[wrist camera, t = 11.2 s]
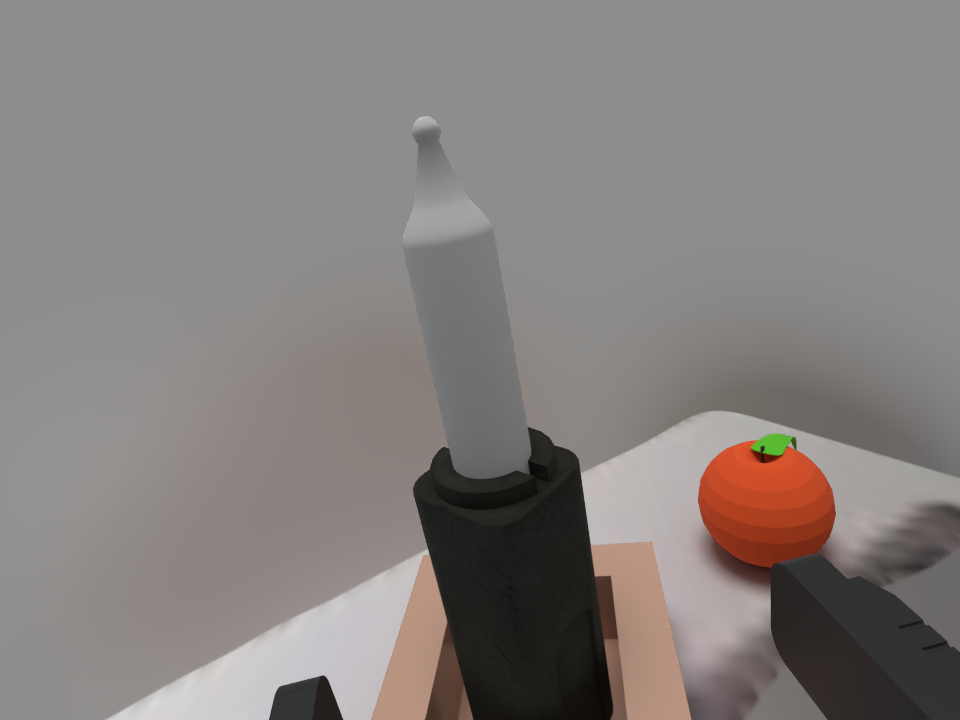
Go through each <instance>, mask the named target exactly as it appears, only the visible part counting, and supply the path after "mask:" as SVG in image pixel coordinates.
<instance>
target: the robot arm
mask: <svg viewBox="0 0 960 720" xmlns="http://www.w3.org/2000/svg"><path fill="white" fill-rule="evenodd" d="M771 631H772V635H773V639H774V642H775V645H776V647H777V650H778V652H779V654H780V656H781V658H782V659H783V661H784V663H785V664H786V666H787V667H788V668H789V670H790V671H791V672H792V674H793V675H794V676H795V677H796V679H797V680H798V681H799V683H800V684H801V685H802V687H803V688H804V689H805V690H806V692H807V693H808V694H809V696H810V697H811V698H812V700H813V701H814V702H815V704H816V705H817V706H818V708H819V709H820V710H821V712H822V713H823V714H824V715H825V717H826V718H827V719H828V720H960V652H959V651H958V650H957V649H955V648H954V647H952V648H951V647H950V646H949V645H948V643H947V641H946V640H945V639H944V638H943V637H942V636H941V635H939V634H938V633H937V632H936V631H935V630H934V629H933V628H932V627H930V626H929V625H927V626H926V625H925V624H924V622H923V620H922V619H921V618H920V617H919V616H918V615H917V614H915V612H913V611H912V610H911V609H910V608H909V607H908V606H907V605H905V604H904V603H903V602H902V601H901V600H900V599H899V598H897V597H896V596H895V595H894V594H892V593H890V592H888V591H886V590H884V589H882V588H880V587H879V586H877V585H875V584H873V583H871V582H869V581H867V580H865V579H863V578H861V577H855V578H851V579H847V578H846V577H845V576H844V575H843V574H842V573H840V572H839V571H838V570H837V569H836V568H835V567H834V566H833V565H832V564H831V563H830V562H829V561H828V560H826V559H825V558H824V557H823V556H821V555H819V554H810V555H806V556H802V557H798V558H794V559H790V560H786V561H783V562H779V563H775V564H773V566H772V568H771ZM269 720H343V718H342V715H341V713H340V710H339V707H338V705H337V702H336V699H335V697H334V694H333V692H332V689H331V686H330V684H329V681H328V679H327V678H326V677H325V676H319V677H315V678H311V679H307V680H304V681H300V682H296V683H292V684H288V685H284V686H280V687H279V688H278V689H277V691H276V694H275V697H274V701H273V705H272V709H271V714H270V718H269Z"/></svg>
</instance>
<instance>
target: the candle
mask: <svg viewBox="0 0 960 720" xmlns="http://www.w3.org/2000/svg"><path fill="white" fill-rule="evenodd" d="M440 132H441V129H440V126H439V124H438V123H437V122H436V121H435V120H433V119H432V118H431V117H428V116H425V117H421V118H419V119H418V120H417V121H416V122H415V124H414V126H413V129H412V135H413V137H414V139H415V141H416V142H417V143H418V159H417V173H416V174H417V175H416V190H415V204H414V208H413V211H412V213H411V216H410V219H409V221H408V224H407V226H406V229H405V233H404V236H403V239H402V247H403V251H404V256H405V259H406V264H407V268H408V272H409V277H410V282H411V286H412V290H413V294H414V299H415V303H416V308H417V312H418V316H419V321H420V324H421V329H422V334H423V338H424V342H425V347H426V351H427V355H428V359H429V363H430V368H431V372H432V376H433V381H434V385H435V389H436V394H437V398H438V403H439V407H440V411H441V416H442V420H443V424H444V428H445V433H446V437H447V442H448V446H449V449H448V448H445V447H443V448H441V449H440V450H439V451H438V453H437V454H436V455H435V457H434V458H433V460H432V463H431V467H430V470H428V471H427V472H426V473H424V474H423V475H422V476H421V477H419V479H418V480H417V481H416V482H415V485H414V487H413V493H414V497H415V501H416V505H417V508H418V513H419V516H420V520H421V524H422V527H423V531H424V535H425V539H426V543H427V547H428V550H429V554H430V558H431V562H432V565H433V569H434V573H435V577H436V581H437V584H438V588H439V592H440V596H441V599H442V603H443V607H444V611H445V615H446V618H447V622H448V626H449V630H450V633H451V637H452V641H453V645H454V649H455V652H456V656H457V660H458V664H459V667H460V671H461V675H462V679H463V683H464V686H465V690H466V694H467V698H468V701H469V705H470V709H471V713H472V717H473V720H610V719H611V717H612V714H613V701H612V694H611V687H610V680H609V672H608V665H607V658H606V651H605V644H604V637H603V630H602V623H601V615H600V608H599V601H598V594H597V587H596V580H595V573H594V566H593V558H592V551H591V544H590V537H589V530H588V523H587V516H586V509H585V501H584V494H583V487H582V480H581V473H580V466H579V460H578V458H577V456H576V455H575V454H574V453H573V452H571V451H570V450H568V449H565V448H562V447H558V446H554V444H553V443H552V441H551V440H550V438H549V437H548V436H546V435H545V434H544V433H542V432H541V431H538V430H535V429H532V428H529V427H527V421H526V415H525V410H524V404H523V398H522V392H521V387H520V381H519V375H518V369H517V364H516V358H515V352H514V346H513V340H512V335H511V329H510V323H509V317H508V311H507V305H506V300H505V294H504V289H503V283H502V277H501V271H500V265H499V259H498V253H497V248H496V242H495V236H494V230H493V227H492V225H491V222H490V221H489V220H488V219H487V218H486V217H485V215H484V214H483V213H482V212H481V211H480V210H479V209H478V208H477V207H476V205H475V204H474V203H473V202H472V201H471V200H470V199H469V198H468V197H467V196H466V194H465V192H464V190H463V188H462V186H461V184H460V182H459V180H458V178H457V176H456V174H455V172H454V170H453V168H452V166H451V164H450V162H449V160H448V158H447V157H446V154H445V152H444V150H443V148H442V146H441V144H440V142H439V137H440Z"/></svg>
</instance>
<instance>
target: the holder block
mask: <svg viewBox="0 0 960 720" xmlns="http://www.w3.org/2000/svg"><path fill="white" fill-rule="evenodd" d="M591 551H592V558H593V566H594V573H595V580H596V587H597V594H598V601H599V608H600V615H601V623H602V630H603V637H604V644H605V651H606V658H607V665H608V672H609V680H610V687H611V694H612V701H613V714H612V717H611V719H610V720H691V716H690V711H689V707H688V702H687V698H686V693H685V689H684V684H683V680H682V675H681V671H680V666H679V662H678V657H677V653H676V648H675V644H674V639H673V635H672V630H671V626H670V621H669V617H668V612H667V608H666V603H665V599H664V594H663V590H662V585H661V581H660V576H659V572H658V567H657V563H656V558H655V554H654V549H653V545H652V542H639V543H623V544H606V545H591ZM371 720H473V717H472V713H471V709H470V705H469V701H468V698H467V694H466V690H465V686H464V683H463V679H462V675H461V671H460V667H459V664H458V660H457V656H456V652H455V649H454V645H453V641H452V637H451V633H450V630H449V626H448V622H447V618H446V615H445V611H444V607H443V603H442V599H441V596H440V592H439V588H438V584H437V581H436V577H435V573H434V569H433V565H432V562H431V558H430V555H425V556H423V558H422V561H421V564H420V568H419V571H418V574H417V577H416V580H415V583H414V587H413V590H412V593H411V596H410V599H409V602H408V605H407V609H406V612H405V615H404V618H403V621H402V624H401V628H400V631H399V634H398V637H397V640H396V643H395V646H394V650H393V653H392V656H391V659H390V662H389V665H388V669H387V672H386V675H385V678H384V681H383V684H382V688H381V691H380V694H379V697H378V700H377V703H376V706H375V710H374V713H373V716H372V719H371Z"/></svg>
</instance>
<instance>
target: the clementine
mask: <svg viewBox="0 0 960 720" xmlns="http://www.w3.org/2000/svg"><path fill="white" fill-rule="evenodd" d="M790 441H791V442H792V444H793V446H794V448H795V449H793V448H790V447H788V446H787V445H788V444H789V443H790ZM698 503H699V508H700V512H701V516H702V519H703V523H704V524H705V526H706V528H707V529H708V531H709V533H710V534H711V536H712V537H713V538H714V540H715V541H716V542H717V543H718V544H719V545H720V546H722V547H723V548H724V549H725V550H727V551H728V552H729V553H730V554H732V555H733V556H734V557H736V558H738V559H740V560H742V561H744V562H747V563H750V564H753V565H756V566H762V567H770V568H772V566H773V564H775V563H779V562H783V561H786V560H790V559H794V558H798V557H802V556H806V555H810V554H816V553H817V552H818V551H819V550H820V549H821V548H822V546H823V545H824V544H825V542H826V541H827V540H828V538H829V537H830V534H831V531H832V528H833V524H834V520H835V516H836V512H835V505H834V498H833V492H832V489H831V487H830V485H829V483H828V481H827V479H826V477H825V476H824V474H823V473H822V471H821V470H820V469H819V468H818V467H817V466H816V465H815V464H814V463H813V462H812V461H811V460H810V459H809V458H808V457H806V456H805V455H804V454H803V453H801V452H799V451H797V450H796V438H795V437H791V436H787V435H782V434H770V435H767V436H765V437H763V438H761V439H759V440H757V441H748V442H743V443H740V444H737V445H735V446H732V447H730V448H727V449H725V450H724V451H723V452H721V453H720V454H719V455H718V456H716V457H715V458H714V459H713V460H712V461H711V462H710V464H709V465H708V467H707V468H706V470H705V472H704V474H703V476H702V478H701V481H700V487H699V496H698Z"/></svg>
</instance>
